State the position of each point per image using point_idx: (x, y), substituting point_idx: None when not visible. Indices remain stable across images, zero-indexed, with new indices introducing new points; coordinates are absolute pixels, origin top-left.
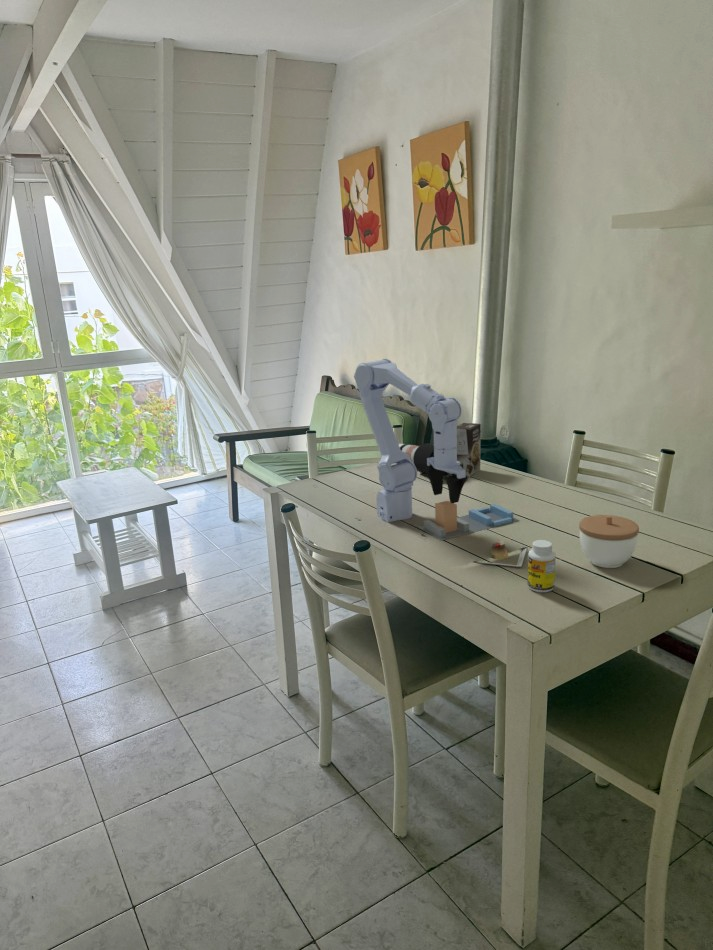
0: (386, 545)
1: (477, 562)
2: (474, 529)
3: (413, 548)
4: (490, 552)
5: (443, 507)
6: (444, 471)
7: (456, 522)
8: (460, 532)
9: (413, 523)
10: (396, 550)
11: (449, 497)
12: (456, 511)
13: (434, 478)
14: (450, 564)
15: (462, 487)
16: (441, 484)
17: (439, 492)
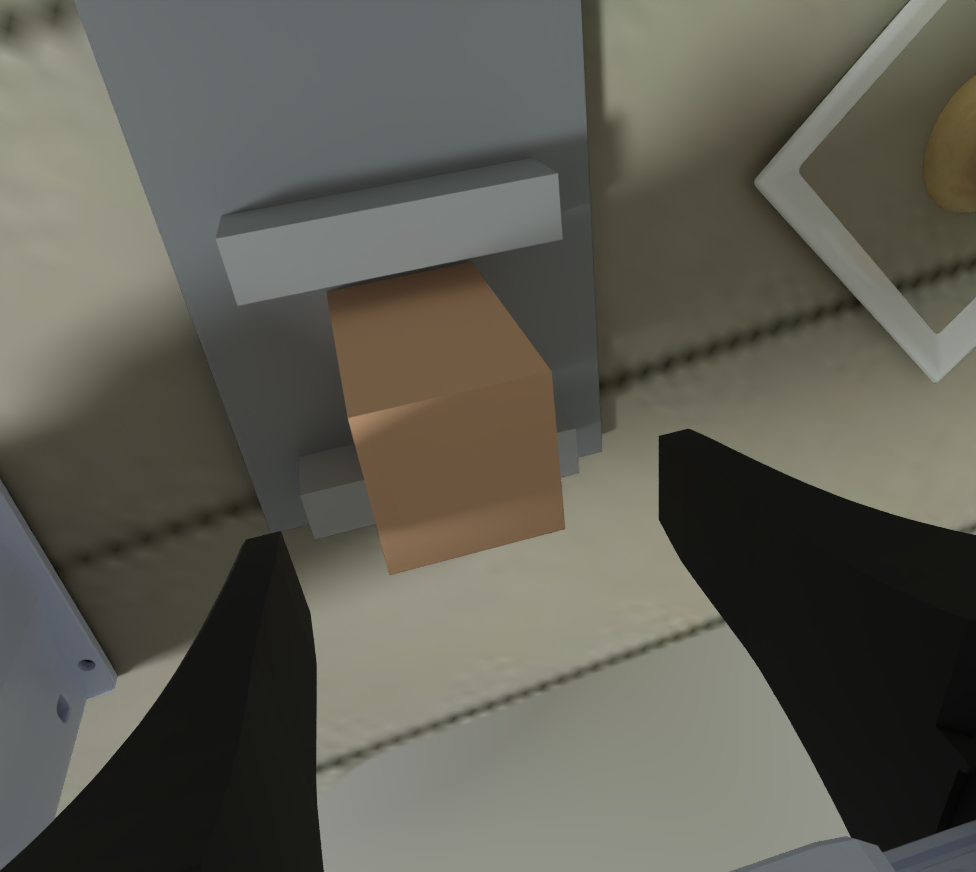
0: (458, 713)
1: (969, 337)
2: (532, 90)
3: (572, 600)
4: (970, 208)
5: (554, 529)
6: (233, 817)
7: (490, 293)
8: (536, 256)
9: (100, 518)
10: (549, 677)
11: (697, 579)
12: (525, 340)
13: (309, 853)
14: (867, 474)
15: (881, 514)
16: (271, 636)
17: (290, 577)
